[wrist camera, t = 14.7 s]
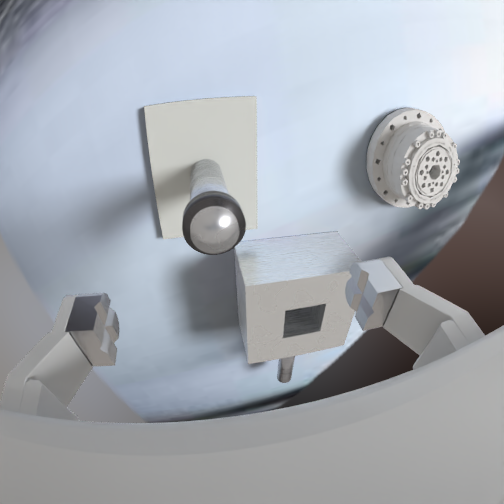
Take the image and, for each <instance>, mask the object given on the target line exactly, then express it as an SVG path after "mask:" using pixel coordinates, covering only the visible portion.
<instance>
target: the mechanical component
mask: <svg viewBox="0 0 504 504" xmlns="http://www.w3.org/2000/svg"><path fill="white" fill-rule="evenodd" d="M456 147H457V145H456V144H455V143H454V142H453V140H452V139H451V138H450V137H449V135H448V134H447V133H445V131H444V129H443V127H442V125H441V124H440V122H439V121H438V120H437V119H436V118H435V117H434V116H433V115H431V114H429V113H428V112H426V111H423V110H419V109H414V108H403V109H399V110H396V111H394V112H392V113H391V114H389V115H387V116H386V117H385V119H384V120H383V121H382V122H381V123H380V124H379V125H378V126H377V128H376V130H375V132H374V133H373V135H372V138H371V140H370V143H369V146H368V151H367V173H368V177H369V181H370V183H371V185H372V187H373V189H374V190H375V192H376V193H377V194H378V195H379V196H380V197H381V198H382V199H384V200H385V201H386V202H388V203H390V204H392V205H393V206H395V207H405V208H407V207H411V206H416V207H418V208H419V209H422V208H425V209H428V208H429V207H430V206H432V207H435V205H436V203H438V202H439V201H440V200H441V199H442V198H443V197H445V198H446V197H447V196H448V191H449V189H450V188H451V185H452V183H453V182H456V180H457V178H456V177H455V176H456V174H458V172H459V169H458V168H457V165H459V163H460V160H459V159H458V155H457V151H456Z"/></svg>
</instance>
